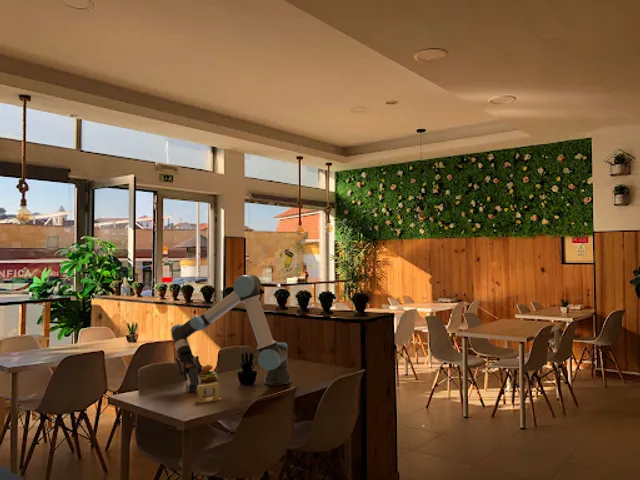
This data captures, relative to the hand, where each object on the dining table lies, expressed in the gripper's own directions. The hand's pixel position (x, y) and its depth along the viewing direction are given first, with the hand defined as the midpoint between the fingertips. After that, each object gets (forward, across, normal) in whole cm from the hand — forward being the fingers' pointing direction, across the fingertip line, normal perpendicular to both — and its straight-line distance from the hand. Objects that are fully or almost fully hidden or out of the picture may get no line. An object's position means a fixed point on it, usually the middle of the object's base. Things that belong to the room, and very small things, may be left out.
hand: (194, 384), depth 288 cm
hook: (+6, 0, 0) cm, 6 cm away
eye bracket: (+16, 0, +10) cm, 19 cm away
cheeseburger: (-15, -19, -22) cm, 33 cm away
